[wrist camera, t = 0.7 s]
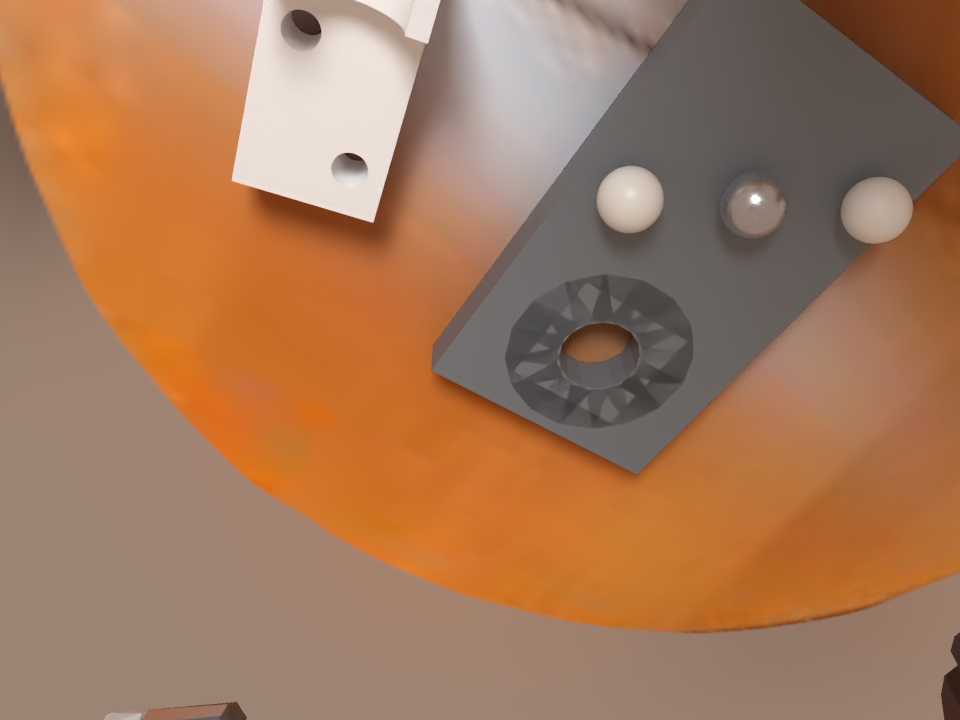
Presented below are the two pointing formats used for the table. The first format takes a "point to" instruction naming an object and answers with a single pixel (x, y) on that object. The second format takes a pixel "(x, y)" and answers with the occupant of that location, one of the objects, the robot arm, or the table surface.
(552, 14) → the table surface
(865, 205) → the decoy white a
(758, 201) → the steel ball
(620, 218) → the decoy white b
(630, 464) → the board
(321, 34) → the bracket
